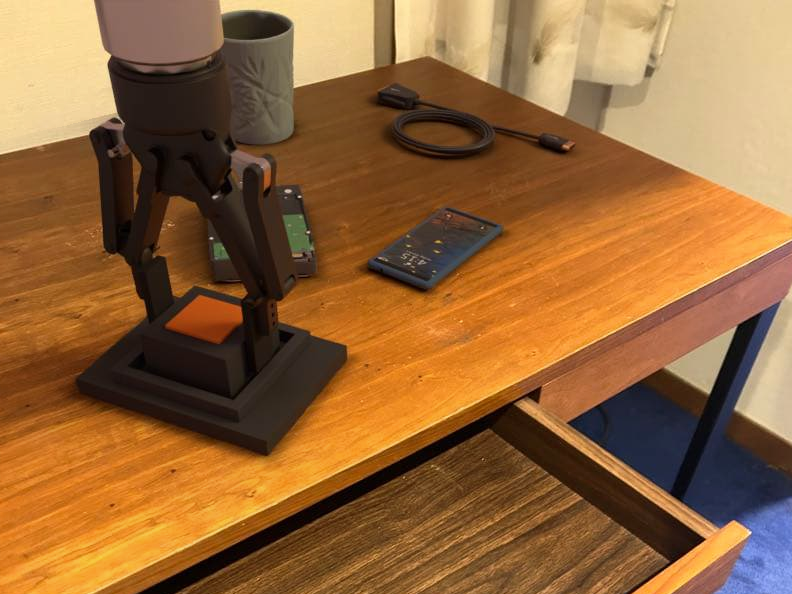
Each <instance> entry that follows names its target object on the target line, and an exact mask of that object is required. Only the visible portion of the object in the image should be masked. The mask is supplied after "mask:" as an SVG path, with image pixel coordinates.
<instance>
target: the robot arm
mask: <svg viewBox="0 0 792 594" xmlns="http://www.w3.org/2000/svg"><path fill="white" fill-rule="evenodd" d="M93 3H94V9H95V13H96V20H97V24H98V30H99V34H100V39H101V44H102V48H103V49H104V51H105V52H106V53H108V54H109V55H110V57H109V59H108V61H107V63H106V64H107V71H108V76H109V80H110V84H111V86H110V87H111V90H112V94H113V95H112V96H113V99H114V104H115V109H116V113H117V115H118V117H116V116H114V117H111V118H110V119H108V120H106V121H104V122H102V123H101V124H100V125H98V126H95V127H94V128H92V129H91V130H90V131H89V133H88V134H89V140H90V143H91V145H92V149H93V151H94V155H95V157H96V160H97V165H98V166H97V167H98V168H97V169H98V181H99V182H98V183H99V194H100V195H99V198H100V213H101V226H102V228H101V229H102V244H103V248H104V250H105V251H106V252H107V254H110V255H111V256H114V255H116V254H117V255H119V256H121V257H122V258H124V261H125V263H126V265H127V266H129V267H130V270H131V274H132V279H133V282H134V286H135V287H134V288H135V292H136V295H137V297H138V298H139V300H142V301H143V302H144V306H145V307H144V308H145V311H146V315H147V316H148V321H149V325H150V324H151V323H152V322H153V321H154V320H155V319H157V318H158V317H159V316H160V315H161V314H162V313H163V312H165V311H166V310H167V309H168V308H169V307H170V306H171V305H173V304H174V299H173V295H174V294H173V288H172V284H171V279H170V273H169V268H168V263H167V258H166V256H162V255H159V254H157V255H155V256H154V257H153V254H155V253H156V252H157V251H158V250H160V249H161V246H160V245H159V246H158V243H159V239H160V235H161V232H162V229H163V224H164V221H165V216H166V213H167V210H168V206H169V203H170V200H171V199H170V198H171V197H181V198H183V199H184V200H186V201H188V202H191V203H195V205H196V207H197V208H198V211H199V212H200V214H201V216H202V217H203V218H204V219H206V220H207V219H209V220H210V221H211V223H212V225H213V227H214V229H215V231H216V233H217V235H218V237H219V239H220V241H221V243H222V245H223V247H224V248H225V250H226V252H227V254H228V256H229V258H230V260H231V262H232V264H233V266H234V268H235V270H236V272H237V274H238V276H239V277H240V279H241V281H240V282H241V283H242V286H243V287H244V289H245V291H246V293H247V294H246V295H245V296H244V297H242V298H241V299H242V300H240V301H241V310H242V318H243V326H244V334H245V342H246V350H247V358H248V366H249V371H252V372H255V373H258V372H259V371H260V370H261V368H262V367H263V366H264V365H265V364H266V363H267V362H268V361H269V360H270V359H271V358H272V357H273V355H274V354H273V344H272V332H273V331H274V330H275V329H276V328H277V326H278V323H279V322H280V320H279V312H278V311H279V309H278V302H282V301H283V300H284V299H285V298H286V297H287V296H288V295H289V294H290V293H291V292H292V291H293V290H294V289H295V288H296V287H297V286H298V285H299V283H300V281H299V280H300V279H299V277H298V275H297V271H296V267H295V263H294V259H293V255H292V251H291V247H290V243H289V239H288V235H287V232H286V228H285V224H284V220H283V216H282V212H281V208H280V204H279V200H278V196H277V192H276V189H275V186H277V161H276V158H275V157H274V156H273V155H272V154H270V153H268V152H265V153H263V154H261V155H260V156H259V157H257V156H254V155H251V154H250V153H247V152H244V151H242V150H240V149H239V146H238V144H237V141H235V140H234V138H233V136H232V134H231V130H230V117H231V108H232V105H231V95H230V86H229V77H228V68H227V60H226V57H225V56H224V54H222V52H221V51H220V50H219V49H220V48H221V46H222V45H223V44H224V37H223V27H222V18H221V14H222V11H221V1H220V0H93ZM133 157H134V158H135V159H136V160H137V163H139V165H140V172H139V177H138V182H137V186H136V190H135V192H134V189H135V187H134V161H133ZM232 171H233V172H234V173H235V175H236V177H237V182H236V180H235V179H234V177H233V175H232ZM219 190H220V195H219V196H218V197H217V198H215V199H214V200H213V198H212V196H213V195H215V194H216V193H217V192H218V191H219ZM241 190H243V201H244V206H245V210H246V214H247V216H246V214H245V212H244V210H243V208H242V206H241V203H240V191H241ZM134 193H135V194H136V195H138V197H137V201H136V203H135V194H134ZM135 204H136V205H135ZM247 217H248V218H247ZM147 316H146V317H147Z"/></svg>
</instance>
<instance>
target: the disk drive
mask: <svg viewBox="0 0 792 594" xmlns="http://www.w3.org/2000/svg"><path fill="white" fill-rule="evenodd" d="M275 189H276V192H277V196H278V200H279V204H280V208H281V212H282V216H283V220H284V224H285V228H286V232H287V235H288V239H289V243H290V247H291V251H292V255H293V259H294V263H295V267H296V271H297V275H298V278H299V277H309V276H311V275H316V274H317V273H318V268H317V255H316V250H315V240H314V237H313V235H312V230H311V226H310V222H309V218H308V213H307V209H306V205H305V202H304V197H303V191H302V189H301V186H300V184H281V185H275ZM239 191H240V203H241V206H242V208H243V210H244V212H245V214H246V210H245V206H244V201H243V190H239ZM219 195H220V190H219V191H218V192H217V193H216V194H215V195H213V196H212V198H213V200H214V199H215V198H217V197H218V196H219ZM246 216H247V214H246ZM247 218H248V217H247ZM206 226H207V238H208V253H209V260H210V267H211V268H210V269H211V275H212V281H214V282H220V281H221V282H223V283H224V282H242V281H241V279H240V277H239V276H238V274H237V272H236V270H235V268H234V266H233V264H232V262H231V260H230V258H229V256H228V254H227V252H226V250H225V248H224V247H223V245H222V243H221V241H220V239H219V237H218V235H217V233H216V231H215V229H214V227H213V225H212V223H211V221H210V220H209V219H206Z"/></svg>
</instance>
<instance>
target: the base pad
mask: <svg viewBox="0 0 792 594" xmlns="http://www.w3.org/2000/svg"><path fill="white" fill-rule="evenodd" d="M181 297H182V296H177V295H174V294H173V299H174V303H175V302H176V301H177V300H178V299H179V298H181ZM148 325H149V321H148V316H145V317H144V318H143V319H142V320H141V321H140V322H139V323H137V324H136V325H135V326H134V327H133V328H132V329H131V330H130V331H128V332H127V333H125V334H124V336H122V337H121V338H120V339H119V340H118V341H117V342H116V343H114V344H113V345H112V346H111V347H110V348H108V349H107V350H106V351H105V352H104V353H103V354H102V355H100V356H99V357H98V358H97V359H96V360H94V361H93V362H92V363H91V364H89V365H88V366H87V367H86V368H85V369H84V370H83V371H81V373H79V374H78V375H77V376H76V377H75V378H74V379H75V383H76V387H77V389H78V392H79V393H80V394H83V395H85V396H89V397H92V398H94V399H98V400H101V401H104V402H106V403H109V404H113V405H116V406H118V407H122V408H124V409H127V410H130V411H134V412H137V413H139V414H143V415H145V416H149V417H152V418H154V419H157V420H161V421H163V422H167V423H169V424H173V425H175V426H179V427H182V428H185V429H188V430H191V431H192V432H193V431H194V432H195V433H196V432H197V433H198V434H199V433H200V434H203V435H205V436H208V437H211V438H214V439H218V440H221V441H223V442H227V443H230V444H232V445H236V446H238V447H242V448H245V449H248V450H251V451H253V452H257V453H259V454H263V455H266V456H269V455H270V454H271V453H272V451H274V449H275V448H276V447H277V446H278V444H279V443H280V442H281V440H283V438H284V437H285V436H286V435H287V434H288V432H289V431H290V430H291V428H292V427H293V426H294V425H295V424H296V422H297V421H298V420H299V419H300V418H301V417H302V415H303V414H304V413H305V412H306V410H307V409H308V408H309V407H310V406H311V404H312V403H313V402H314V401H315V399H316V398H317V397H318V396H319V395H320V393H321V392H322V391H323V389H325V387H326V386H327V385H328V384H329V382H330V381H331V380H332V379H333V377H335V375H336V374H337V373H338V372H339V370H340V369H341V368H342V367H343V365H345V363H346V362H347V361H348V345H346V344H344V343H340V342H335V341H333V340H329V339H325V338H322V337H320V336H319V337H318V336H315V335H312V334H311V331H310V330H308V329H304V328H300V327H297V326H294V325H292V324H289V323H288V324H287V323H285V322H280V321H279V323H278V329H279V340H280V349H279V350H278V351H277V353H276V354H275V355H274V356H273V357H272V358H271V359H270V360H269V361H268V362H267V363H266V364H265V365H264V367H263V368H262V369H261V370H260V371H259V372H258V373H257V374H256V375H255V376H254V377H253V378H252V379H251V381H250V382H249V383H248V384H247V385H246V386H245V387H244V388H243V389H242V390H241V391H240V392H239V393H238V395H237V396H236V397H235V398H234V399H233V400H231V399H228V398H225V397H222V396H219V395H216V394H212V393H209V392H206V391H203V390H200V389H197V388H194V387H191V386H187V385H184V384H181V383H178V382H175V381H172V380H169V379H165V378H162V377H159V376H156V375H153V374H150V373H148V369H147V365H146V361H145V357H144V352H143V348H142V344H141V339H140V335H139V333H140V332H142V331H143V330H144V329H145V328H146V327H147V326H148Z"/></svg>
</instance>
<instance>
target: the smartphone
mask: <svg viewBox="0 0 792 594" xmlns="http://www.w3.org/2000/svg"><path fill="white" fill-rule="evenodd" d="M503 231H504V226H503V225H501V224H500V223H497V222H493V221H491V220H488V219H485V218H482V217H479V216H477V215H474V214H471V213H468V212H465V211H462V210H460V209H456V208H454V207H451V206H448V205H447V206H443V207H442V208H441V209H439V210H437V211H436V212H435V213H433V214H432V215H431V216H429V217H428V218H426V219H425V220H424V221H422V222H421V223H419V224H418V225H417V226H415V227H414V228H412V229H411V230H410V231H408V232H406V233H405V234H404V235H402V236H401V237H400V238H398V239H396V241H394V242H393V243H391V244H389V245H388V246H387V247H386V248H384V249H383V250H381V251H379V252H378V253H376V255H374V256H373V257H371V258H370V259H368V261H367V267H368V268H370V269H372V270H375V271H377V272H380V273H382V274H384V275H387V276H390V277H392V278H395V279H397V280H400V281H403V282H405V283H407V284H410V285H413V286H415V287H417V288H420V289H423V290H431V289H432V288H433V287H434V286H436V285H437V284H439V282H441V281H442V280H443V279H445V278H446V277H447V276H448V275H450V274H451V273H452V272H453V271H455V270H456V269H457V268H459V267H460V266H461V265H462V264H464V262H466V261H467V260H469V259H470V258H471V257H473V256H474V255H475V254H476V253H477V252H479V251H481V249H483V248H484V247H485V246H487V244H489V243H490V242H491V241H493V240H494V239H495V238H496V237H497V236H499V235H500V234H501V233H502V232H503Z"/></svg>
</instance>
